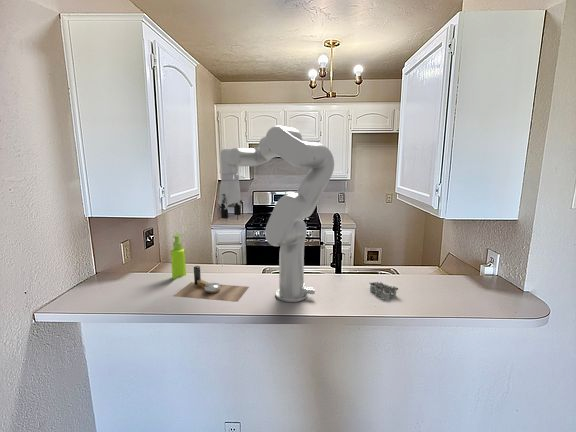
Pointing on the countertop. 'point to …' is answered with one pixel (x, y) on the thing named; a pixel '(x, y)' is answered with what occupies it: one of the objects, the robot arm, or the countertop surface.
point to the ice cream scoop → (209, 287)
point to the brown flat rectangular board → (224, 294)
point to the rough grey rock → (379, 290)
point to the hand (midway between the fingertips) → (231, 216)
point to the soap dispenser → (178, 259)
